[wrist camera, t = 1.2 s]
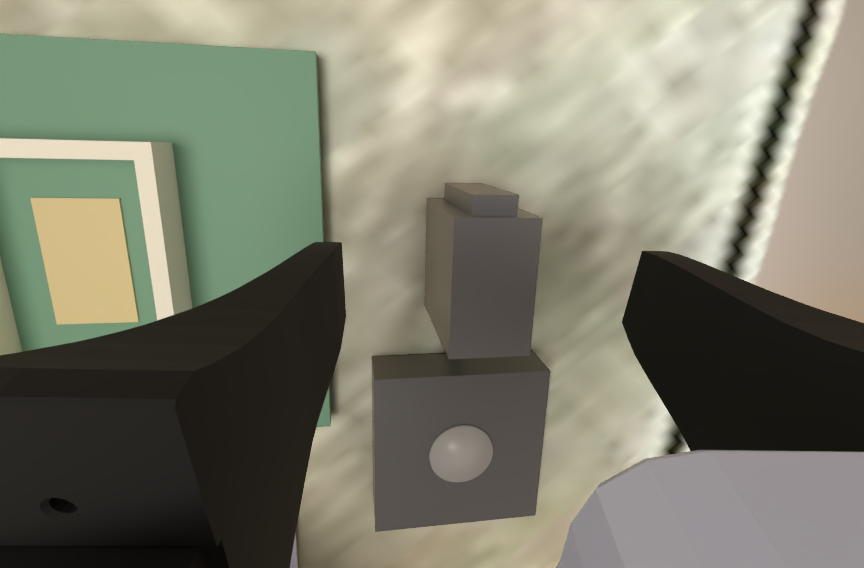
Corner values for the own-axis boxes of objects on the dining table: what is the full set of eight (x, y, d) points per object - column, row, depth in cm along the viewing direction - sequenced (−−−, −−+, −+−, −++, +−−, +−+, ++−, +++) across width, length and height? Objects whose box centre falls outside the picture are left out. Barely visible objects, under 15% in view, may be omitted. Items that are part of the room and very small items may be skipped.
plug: (485, 303, 23) (529, 355, 17) (424, 304, 22) (449, 359, 17) (493, 182, 21) (544, 196, 16) (427, 181, 21) (454, 195, 15)
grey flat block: (519, 483, 26) (536, 517, 24) (373, 496, 25) (375, 534, 22) (535, 310, 23) (556, 329, 21) (371, 314, 22) (373, 335, 20)
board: (331, 414, 23) (328, 452, 20) (-44, 437, 21) (-108, 484, 18) (317, 56, 19) (310, 40, 16) (-164, 30, 16) (-274, 5, 13)
